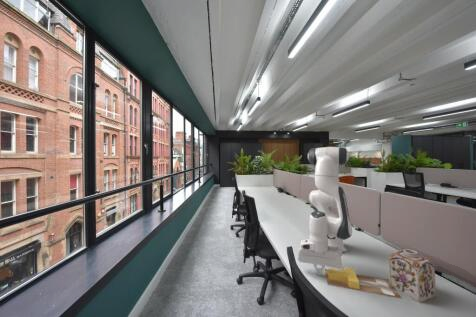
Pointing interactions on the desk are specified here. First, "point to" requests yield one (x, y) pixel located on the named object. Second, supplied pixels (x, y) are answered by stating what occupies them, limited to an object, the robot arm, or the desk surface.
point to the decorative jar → (412, 274)
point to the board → (368, 285)
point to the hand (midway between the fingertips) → (319, 272)
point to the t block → (345, 277)
